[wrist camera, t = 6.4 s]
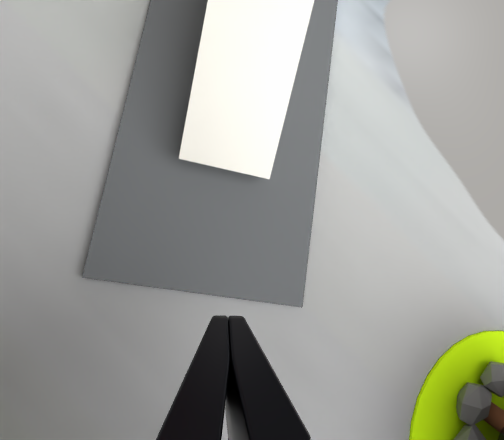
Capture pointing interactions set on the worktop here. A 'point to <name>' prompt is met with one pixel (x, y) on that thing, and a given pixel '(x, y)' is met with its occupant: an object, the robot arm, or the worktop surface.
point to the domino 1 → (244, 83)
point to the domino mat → (209, 177)
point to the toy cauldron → (464, 392)
